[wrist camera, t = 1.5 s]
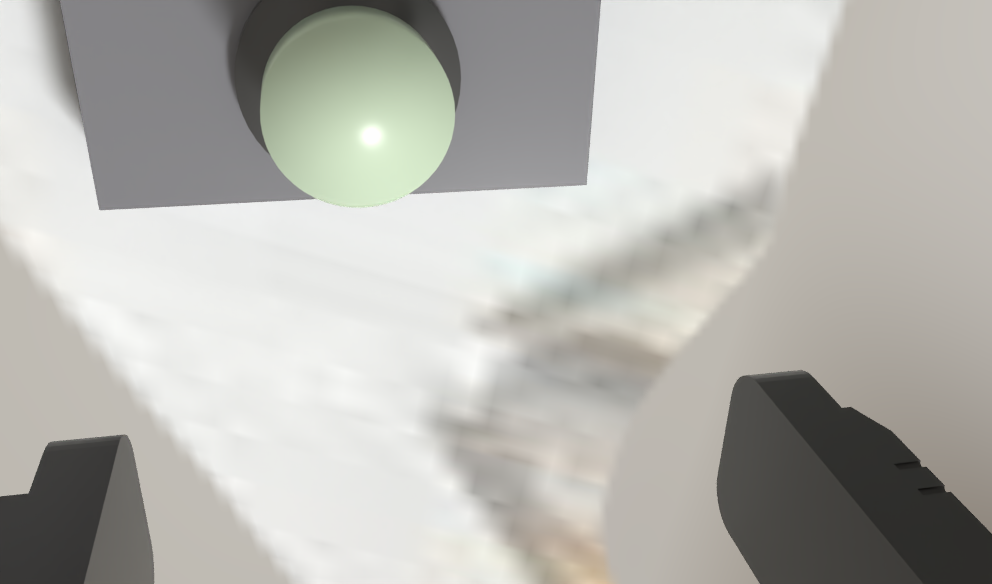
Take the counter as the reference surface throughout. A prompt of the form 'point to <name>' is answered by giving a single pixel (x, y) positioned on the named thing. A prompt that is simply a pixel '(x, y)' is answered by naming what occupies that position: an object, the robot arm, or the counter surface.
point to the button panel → (238, 81)
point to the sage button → (356, 107)
